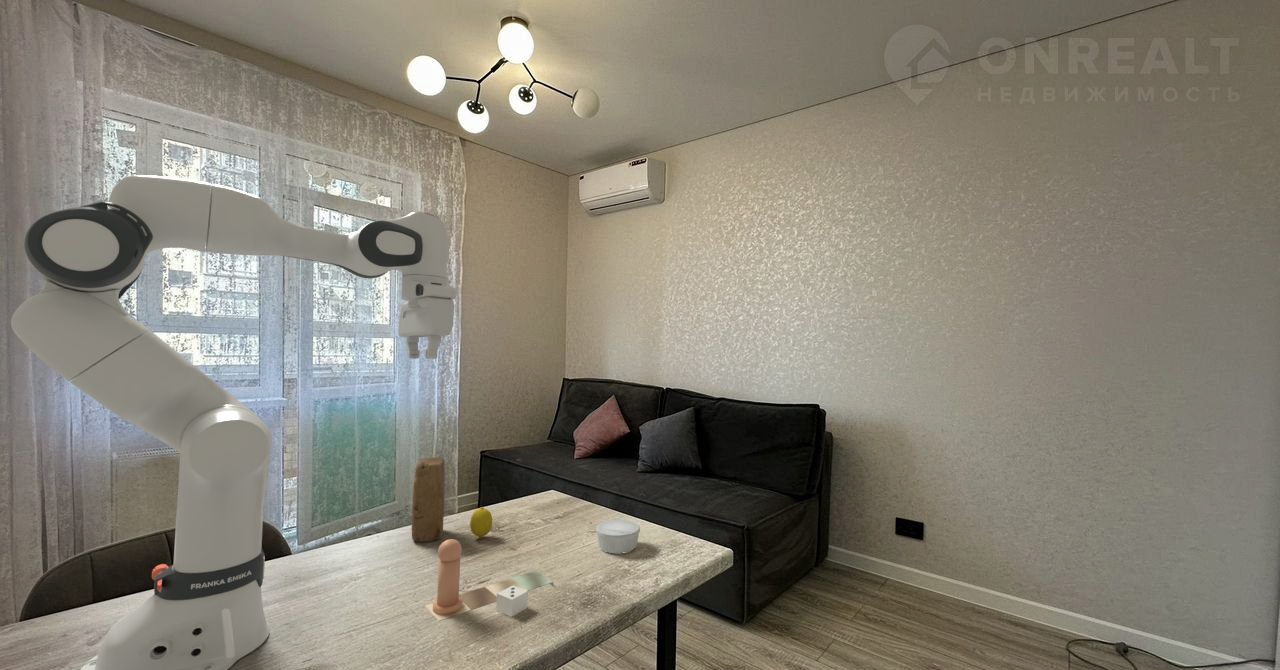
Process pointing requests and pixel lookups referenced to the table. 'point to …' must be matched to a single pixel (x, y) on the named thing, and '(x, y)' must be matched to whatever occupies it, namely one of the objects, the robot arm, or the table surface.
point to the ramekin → (617, 535)
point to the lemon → (481, 522)
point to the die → (512, 600)
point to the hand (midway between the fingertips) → (422, 358)
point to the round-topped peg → (448, 578)
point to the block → (428, 500)
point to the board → (494, 592)
